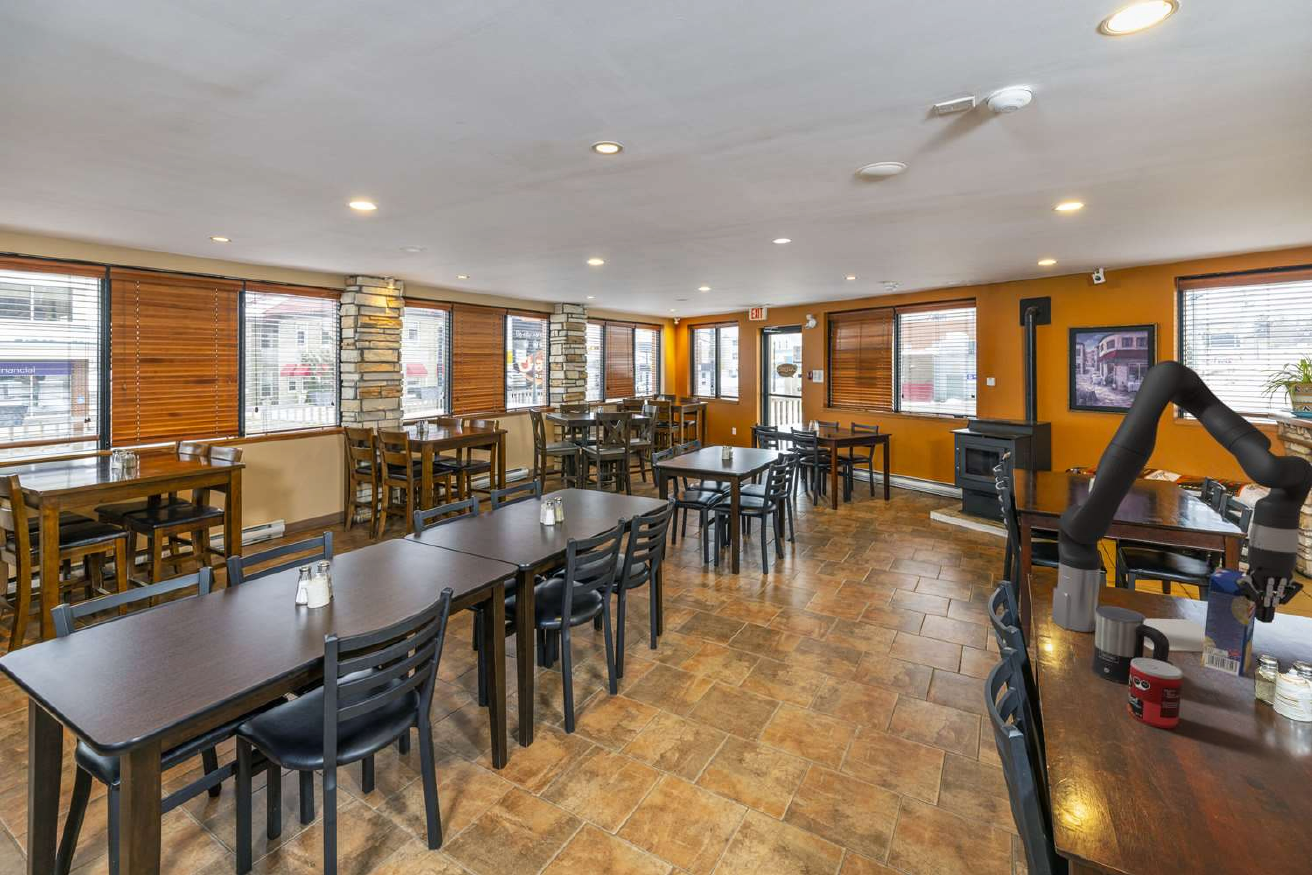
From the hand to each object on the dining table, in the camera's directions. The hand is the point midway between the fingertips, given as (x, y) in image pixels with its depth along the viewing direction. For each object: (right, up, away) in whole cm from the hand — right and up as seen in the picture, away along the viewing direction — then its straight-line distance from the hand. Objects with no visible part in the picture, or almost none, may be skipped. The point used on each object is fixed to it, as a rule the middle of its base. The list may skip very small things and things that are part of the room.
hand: (1263, 621), depth 133 cm
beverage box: (+1, -14, +10) cm, 17 cm away
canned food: (-36, -16, -13) cm, 41 cm away
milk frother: (-25, -14, +6) cm, 29 cm away
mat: (+2, -12, +26) cm, 29 cm away
